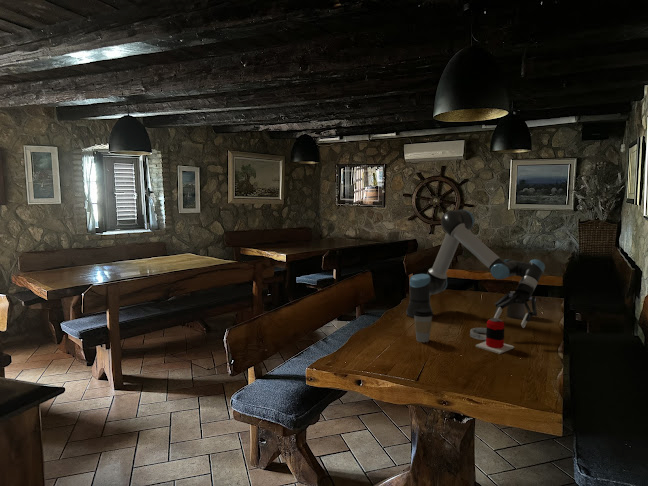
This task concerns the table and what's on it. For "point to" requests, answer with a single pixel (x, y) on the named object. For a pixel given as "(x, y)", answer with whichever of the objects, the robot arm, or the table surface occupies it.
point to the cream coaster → (496, 350)
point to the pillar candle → (515, 309)
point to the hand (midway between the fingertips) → (508, 322)
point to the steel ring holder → (478, 336)
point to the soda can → (495, 333)
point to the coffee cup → (422, 324)
